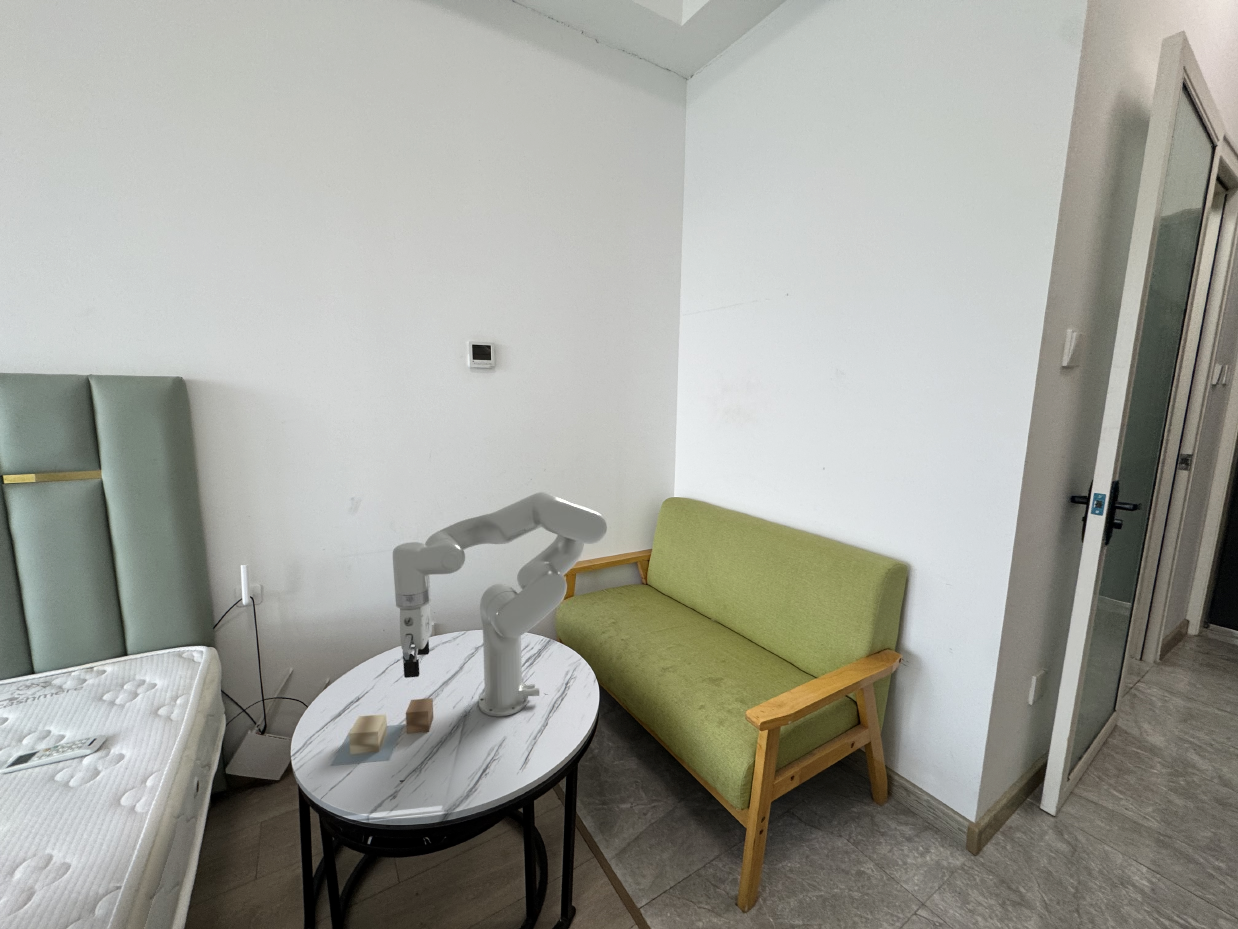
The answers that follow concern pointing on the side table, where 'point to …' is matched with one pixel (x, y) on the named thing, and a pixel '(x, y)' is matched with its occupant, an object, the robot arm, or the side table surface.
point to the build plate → (382, 755)
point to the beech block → (368, 734)
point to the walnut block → (419, 715)
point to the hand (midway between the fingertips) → (417, 665)
